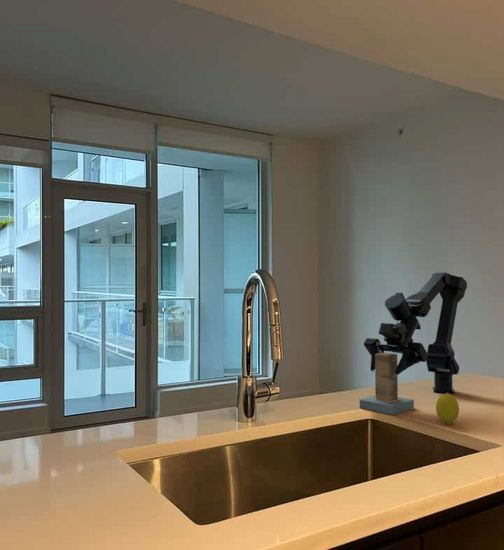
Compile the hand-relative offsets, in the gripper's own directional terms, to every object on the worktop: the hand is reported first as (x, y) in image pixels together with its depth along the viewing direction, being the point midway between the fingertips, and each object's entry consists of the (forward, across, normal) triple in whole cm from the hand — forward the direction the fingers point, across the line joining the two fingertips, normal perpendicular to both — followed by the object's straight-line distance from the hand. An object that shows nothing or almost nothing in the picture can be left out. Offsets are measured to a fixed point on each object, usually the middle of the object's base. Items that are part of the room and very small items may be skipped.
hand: (383, 372), depth 149 cm
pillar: (+5, 0, +7) cm, 8 cm away
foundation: (+6, 0, +8) cm, 11 cm away
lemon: (+9, +20, +6) cm, 23 cm away
